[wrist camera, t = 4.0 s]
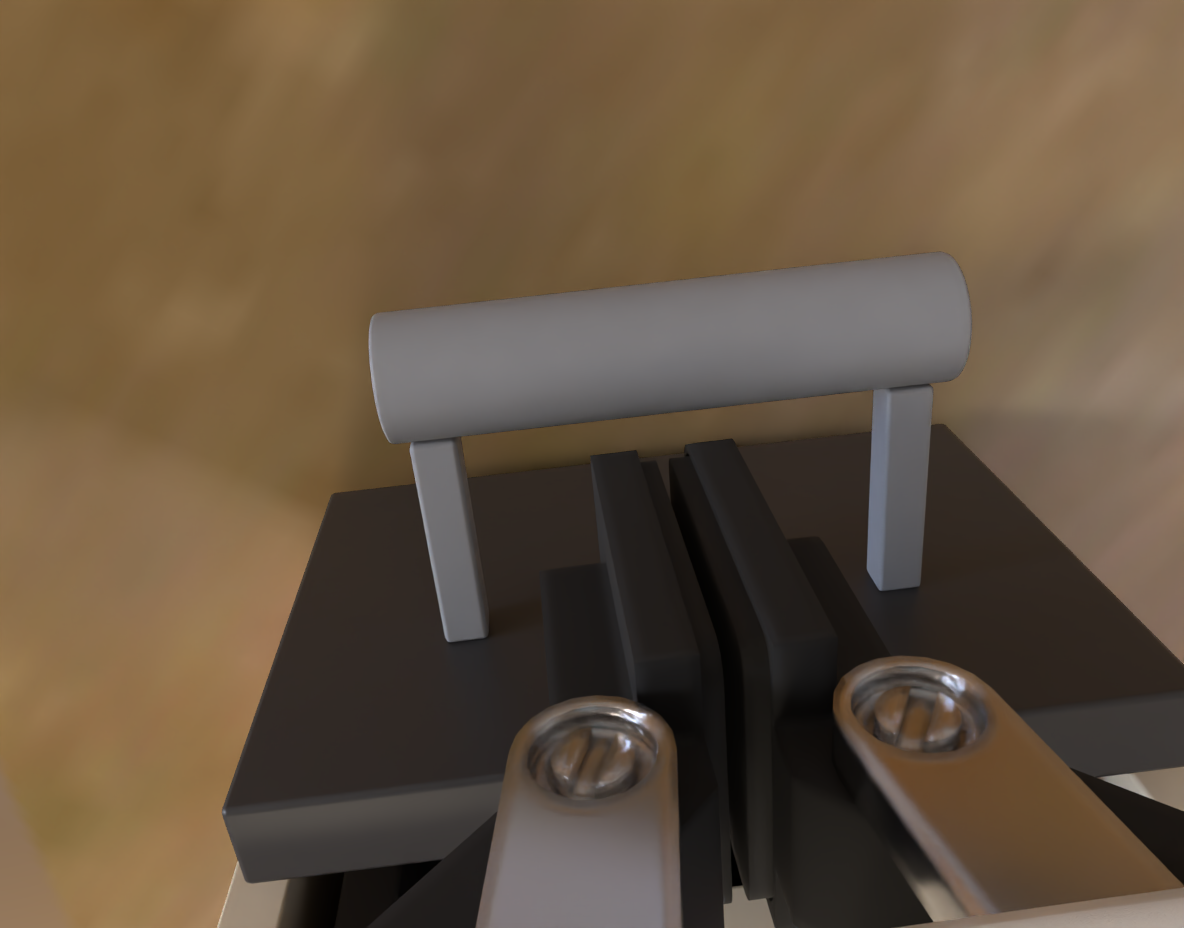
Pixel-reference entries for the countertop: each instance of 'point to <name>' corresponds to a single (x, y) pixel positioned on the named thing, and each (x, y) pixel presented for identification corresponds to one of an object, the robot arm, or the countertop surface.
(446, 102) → the countertop surface
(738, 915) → the cream drawer cabinet
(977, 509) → the black drawer
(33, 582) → the countertop surface
